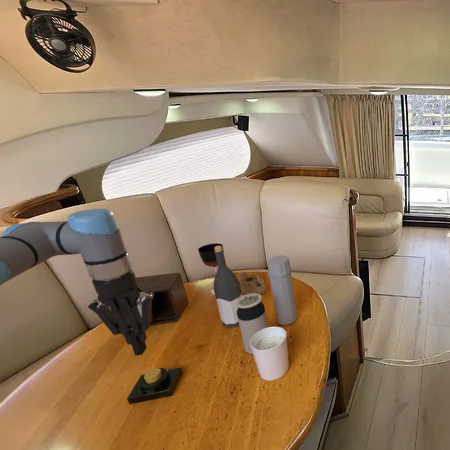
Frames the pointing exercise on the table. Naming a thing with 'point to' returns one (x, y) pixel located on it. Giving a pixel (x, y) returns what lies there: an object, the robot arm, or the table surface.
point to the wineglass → (209, 256)
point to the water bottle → (282, 289)
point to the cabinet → (165, 296)
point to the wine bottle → (226, 291)
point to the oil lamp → (251, 284)
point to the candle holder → (270, 352)
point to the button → (152, 375)
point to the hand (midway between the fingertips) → (141, 351)
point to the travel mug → (251, 317)
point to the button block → (155, 386)
